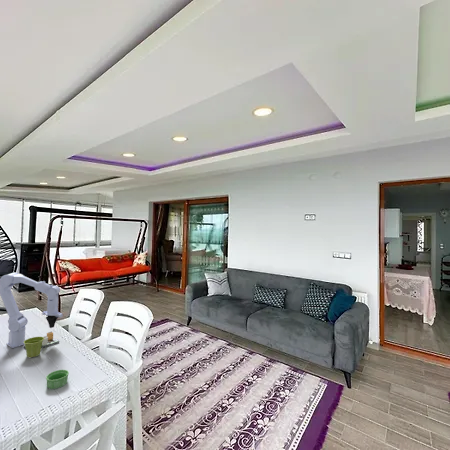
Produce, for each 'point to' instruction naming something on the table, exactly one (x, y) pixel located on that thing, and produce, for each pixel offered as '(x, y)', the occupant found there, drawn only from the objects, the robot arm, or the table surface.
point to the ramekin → (57, 379)
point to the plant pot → (33, 346)
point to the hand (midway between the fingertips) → (51, 327)
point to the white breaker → (45, 340)
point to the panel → (49, 343)
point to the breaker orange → (50, 335)
